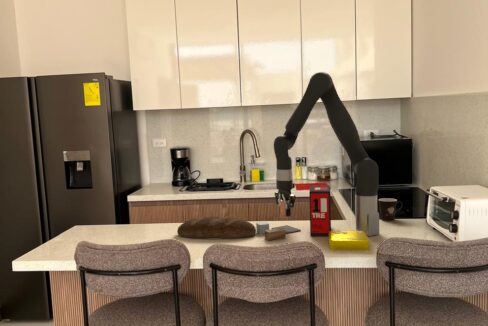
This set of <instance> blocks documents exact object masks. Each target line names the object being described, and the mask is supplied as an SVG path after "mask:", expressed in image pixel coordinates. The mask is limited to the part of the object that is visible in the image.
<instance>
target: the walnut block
mask: <svg viewBox="0 0 488 326" xmlns="http://www.w3.org/2000/svg"><path fill="white" fill-rule="evenodd" d="M264 239H265V240H266V241H268V242H273V241H279V240H285V239H286V234H285V230H284V229H282V228H277V229H271V228H269V230H265V234H264Z"/></svg>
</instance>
